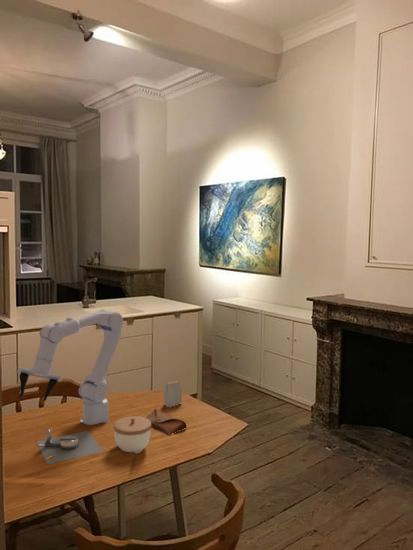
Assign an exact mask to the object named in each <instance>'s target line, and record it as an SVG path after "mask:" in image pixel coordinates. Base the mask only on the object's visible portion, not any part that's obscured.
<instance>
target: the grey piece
mask: <svg viewBox="0 0 413 550" xmlns="http://www.w3.org/2000/svg"><path fill="white" fill-rule="evenodd" d="M51 438H52V429H51V428H49V429H45V439H46V442H45V446H59V447H60V448H61V449H65V450H69V449H74V448H76V447H77V446H78V437H76V436H66V437H63V438H61V439H60V441H51Z"/></svg>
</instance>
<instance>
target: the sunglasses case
mask: <svg viewBox="0 0 413 550" xmlns="http://www.w3.org/2000/svg"><path fill="white" fill-rule="evenodd" d="M145 418H147V419H149V420H150V421H151V427H152V426H153V428H155V429H156V430H159V431H161V432H163V431H164V432H163V433H165V432H166V433H165V434H167V435H168V434H169V436H172V435H171V434H172V433H175V432H177V431H179V430H182V429H184V428H186V429H187V423H186V422H185V421H184V420H181V419H179V418H176V417H175V416H172V415H169V414H167V413H165V412H162V411H160V410H158V409H157V408H154V409H153V410H152V411H151V412H150V413H149V414H148V415H147V416H146V417H145ZM175 434H176V433H175Z"/></svg>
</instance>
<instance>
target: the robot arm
mask: <svg viewBox="0 0 413 550" xmlns="http://www.w3.org/2000/svg"><path fill="white" fill-rule="evenodd" d="M96 324H97V325H98V326H99V328H100V329H101V330H102V331H103V333H104V335H105V336H104V340H103V341H102V345H101V347H100V350H99V353H98V355H97V357H96V361H95V363H94V365H93V368H92V371H91V373H90V374H89V375H87V376H86V377H85V378H84V380H83V382H82V383H81V384H80V386H79V388H78V395H79V396H80V397H81V399H82V419H79V422H80V423H82V424H85V425H87V426H90V425H91V426H93V425H98V424H100V423H110V421H109V420H110V419H109V416H110V414H109V413H110V411H109V406H110V405H109V402H108V399H107V398H106V395H107V388H108V383H107V380H106V376H107V373H108V370H109V367H110V365H111V364H112V363H111V362H112V360H113V358H114V354H115V352H116V349H117V347H118V344H119V342H120V339H121V335H122V327H123V325H124V317H123V315H122V314H121V313H120V312H114V311H110V310H105V309H101V310H96V311H94V312H92V313H91V314H88V315H84V316H83V317H80V318H78V319H76V318H74V317H71V316H70V317H67V318H66V319H65V320H62V321H55V322H54V324H49V323H48V324H45V325H44V326H43V327H42V328H41V330H39V332H38V333H39V337H40V339H39V342H40V343H39V345H38V350H37V352H36V356H35V360H34V363H33V366H32V368H27V367H23V366H19V367H18V368H17V374H19V383H20V395H19V397H22V398H23V396H24V394H25V390H26V386H27V383H28V380H29V377H30V376H31V377H36V378H42V379H46V380H49V381H48V383H47V387H46V391H45V395H44V397H43V402H46V401H47V399H48V396H49V394H50V393H51V391H52V390H53V389H54V387H55V386H56V384H57V383H58V382H61V381H62V378H63V375H60V374H56V373H52V372H51V368H52V364H53V362H54V357H55V354H56V350H57V347H58V344H59V343H61V342H62V341H63V339H64V338H66V337H70V336H72V335H75V334H77V333H78V332H79V331H80V329H82V328H86V327H89V326H94V325H96Z"/></svg>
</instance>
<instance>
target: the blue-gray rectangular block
mask: <svg viewBox="0 0 413 550" xmlns="http://www.w3.org/2000/svg"><path fill="white" fill-rule="evenodd" d="M182 393H183V392H182V387H181V383H180V380H176V381H172V382H168V383H166V384H165V389H164V391H163V406H164V405H166V406H168V407H170V406H173V405H176V404H179V403H181V404H182V401H183V400H182V398H183V397H182V396H183V395H182ZM166 406H165V407H166ZM168 407H167V408H168ZM170 408H171V407H170Z"/></svg>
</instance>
